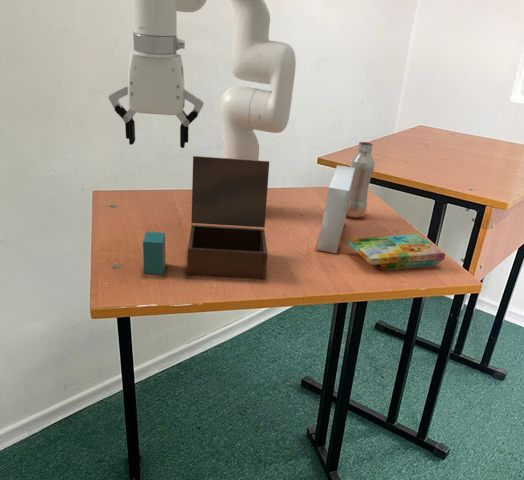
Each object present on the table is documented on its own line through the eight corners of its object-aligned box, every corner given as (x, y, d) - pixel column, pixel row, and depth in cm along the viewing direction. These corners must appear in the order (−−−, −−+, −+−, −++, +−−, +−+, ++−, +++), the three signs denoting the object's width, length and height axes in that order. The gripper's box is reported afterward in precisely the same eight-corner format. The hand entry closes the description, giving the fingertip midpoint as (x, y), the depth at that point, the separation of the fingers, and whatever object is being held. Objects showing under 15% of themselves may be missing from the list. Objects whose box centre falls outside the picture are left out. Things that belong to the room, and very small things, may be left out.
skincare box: (338, 254, 142) (349, 190, 134) (316, 251, 143) (325, 186, 135) (345, 225, 160) (355, 166, 151) (326, 222, 161) (334, 163, 152)
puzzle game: (446, 250, 138) (370, 255, 132) (441, 268, 140) (367, 274, 134) (420, 231, 147) (348, 235, 141) (416, 249, 150) (345, 253, 143)
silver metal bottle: (342, 210, 170) (353, 139, 159) (365, 214, 169) (378, 142, 158) (340, 218, 164) (352, 144, 153) (364, 221, 163) (377, 148, 153)
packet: (163, 278, 124) (162, 242, 120) (143, 277, 124) (142, 241, 120) (165, 267, 129) (165, 232, 125) (147, 266, 128) (146, 231, 124)
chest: (264, 282, 126) (267, 253, 123) (187, 278, 125) (187, 248, 121) (261, 256, 138) (264, 229, 134) (190, 252, 136) (191, 224, 133)
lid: (269, 161, 128) (268, 159, 132) (193, 156, 127) (194, 154, 131) (264, 227, 134) (263, 223, 138) (191, 223, 132) (192, 219, 136)
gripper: (205, 46, 107) (203, 142, 117) (109, 39, 106) (115, 136, 116) (203, 52, 101) (201, 152, 111) (101, 44, 100) (108, 146, 109)
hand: (157, 144), depth 113 cm, fingers open, 9 cm apart
